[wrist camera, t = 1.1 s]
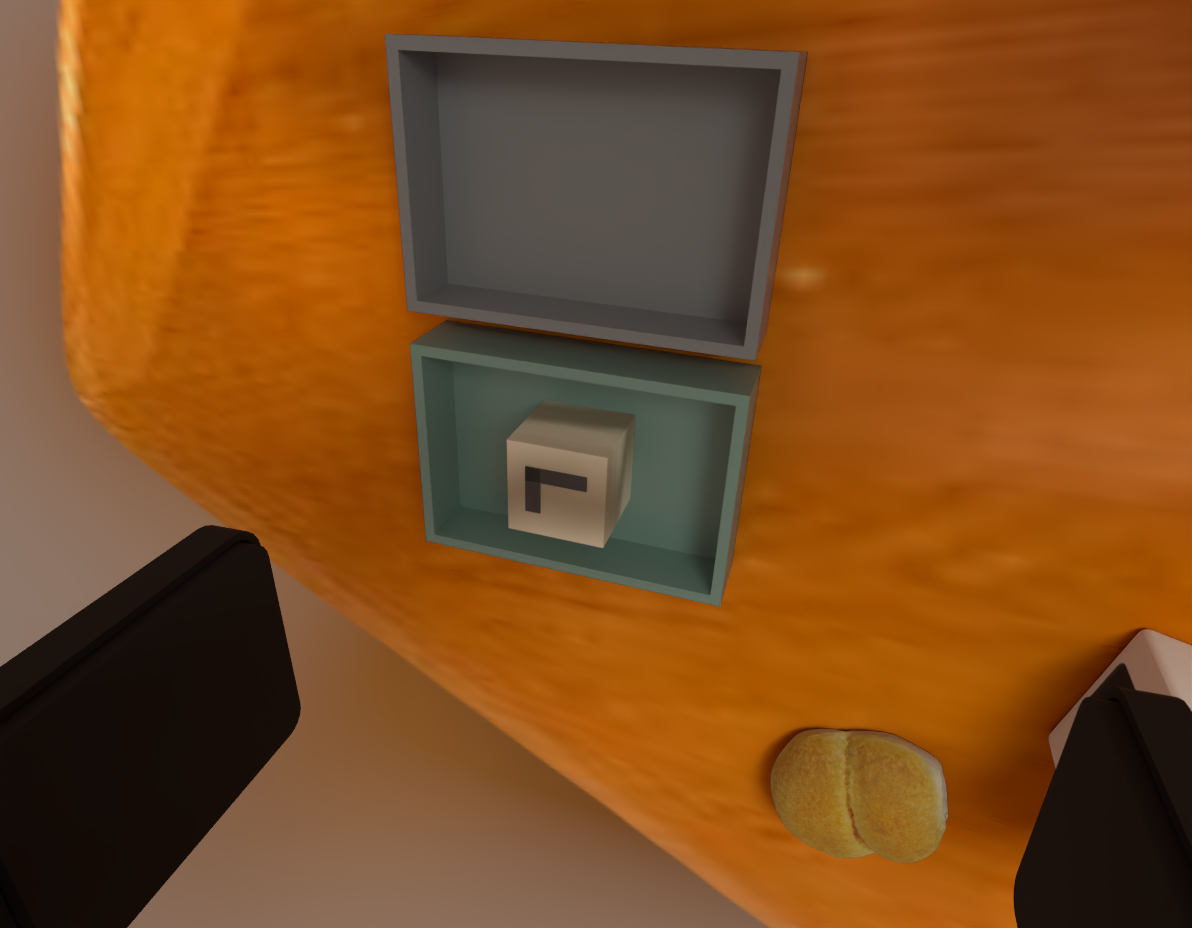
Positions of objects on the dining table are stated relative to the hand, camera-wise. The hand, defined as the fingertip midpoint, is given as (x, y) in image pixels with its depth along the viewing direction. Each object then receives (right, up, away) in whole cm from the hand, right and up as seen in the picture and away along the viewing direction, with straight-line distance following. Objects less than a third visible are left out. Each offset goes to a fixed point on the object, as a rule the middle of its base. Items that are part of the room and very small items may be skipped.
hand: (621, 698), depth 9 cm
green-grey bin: (0, +4, +29) cm, 29 cm away
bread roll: (+14, -14, +34) cm, 39 cm away
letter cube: (-1, +3, +29) cm, 29 cm away
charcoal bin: (0, +14, +23) cm, 27 cm away
